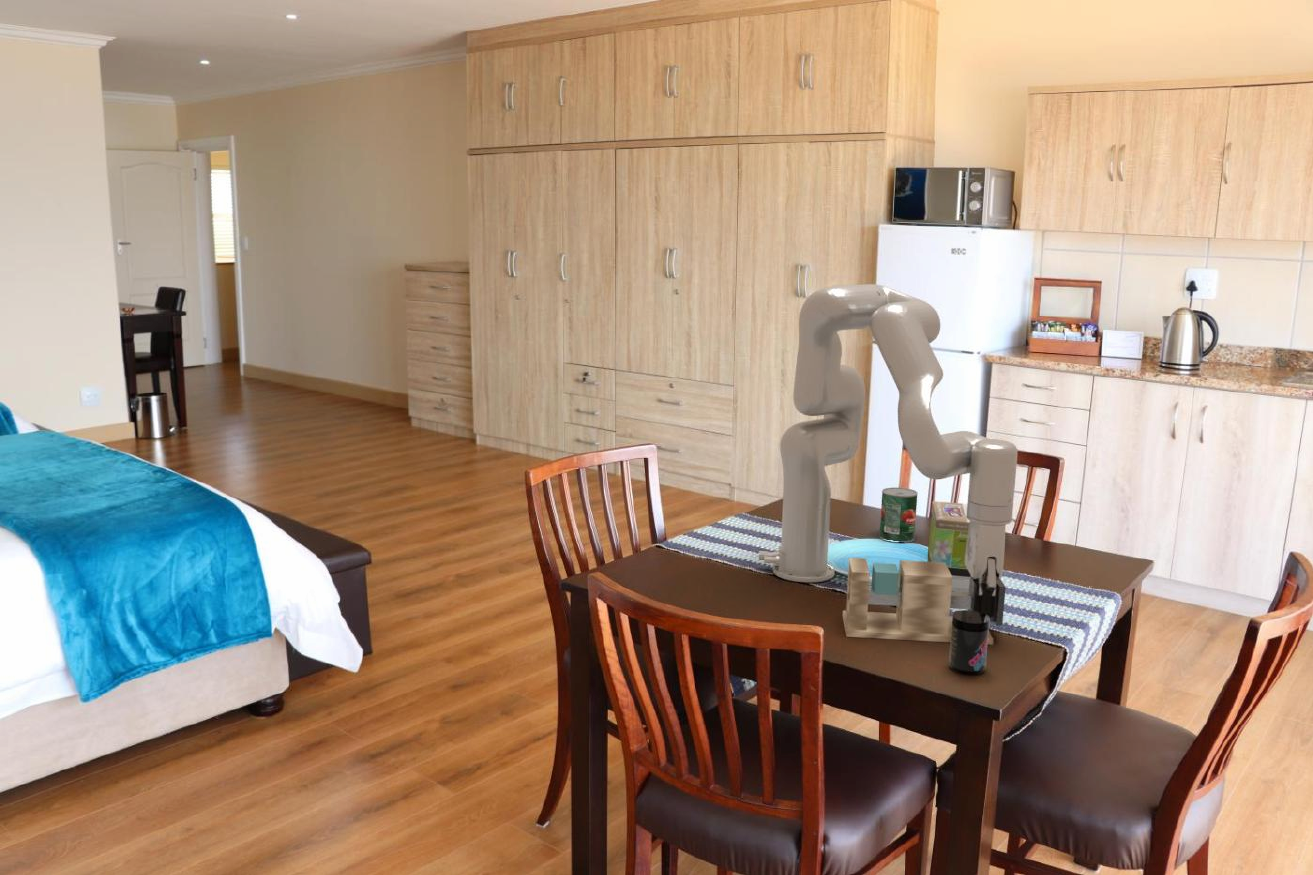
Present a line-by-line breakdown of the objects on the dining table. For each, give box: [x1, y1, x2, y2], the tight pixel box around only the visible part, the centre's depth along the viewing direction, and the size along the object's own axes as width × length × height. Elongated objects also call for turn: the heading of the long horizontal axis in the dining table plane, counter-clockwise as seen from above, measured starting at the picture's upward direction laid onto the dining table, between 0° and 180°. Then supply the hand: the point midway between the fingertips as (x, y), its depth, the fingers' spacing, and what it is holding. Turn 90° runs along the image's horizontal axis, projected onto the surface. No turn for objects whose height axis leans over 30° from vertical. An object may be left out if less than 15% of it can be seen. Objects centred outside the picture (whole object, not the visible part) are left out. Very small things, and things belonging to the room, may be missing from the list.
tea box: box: [926, 501, 970, 592], centre depth 216 cm, size 15×10×15 cm, turn 168°
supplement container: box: [948, 609, 991, 676], centre depth 174 cm, size 6×6×9 cm
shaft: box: [868, 575, 1007, 627], centre depth 190 cm, size 26×7×7 cm, turn 84°
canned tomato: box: [878, 486, 918, 544], centre depth 245 cm, size 8×8×11 cm
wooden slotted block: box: [842, 557, 994, 646], centre depth 190 cm, size 25×10×12 cm, turn 84°
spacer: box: [871, 562, 899, 595], centre depth 190 cm, size 4×5×4 cm
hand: (981, 610), depth 190 cm, fingers closed on shaft, 4 cm apart
